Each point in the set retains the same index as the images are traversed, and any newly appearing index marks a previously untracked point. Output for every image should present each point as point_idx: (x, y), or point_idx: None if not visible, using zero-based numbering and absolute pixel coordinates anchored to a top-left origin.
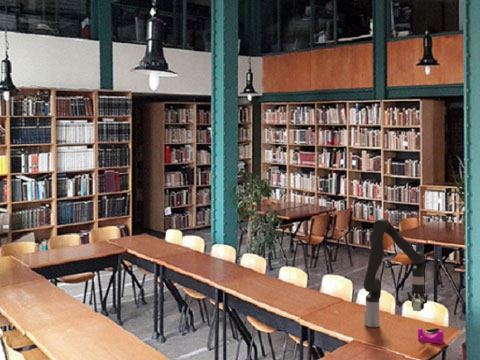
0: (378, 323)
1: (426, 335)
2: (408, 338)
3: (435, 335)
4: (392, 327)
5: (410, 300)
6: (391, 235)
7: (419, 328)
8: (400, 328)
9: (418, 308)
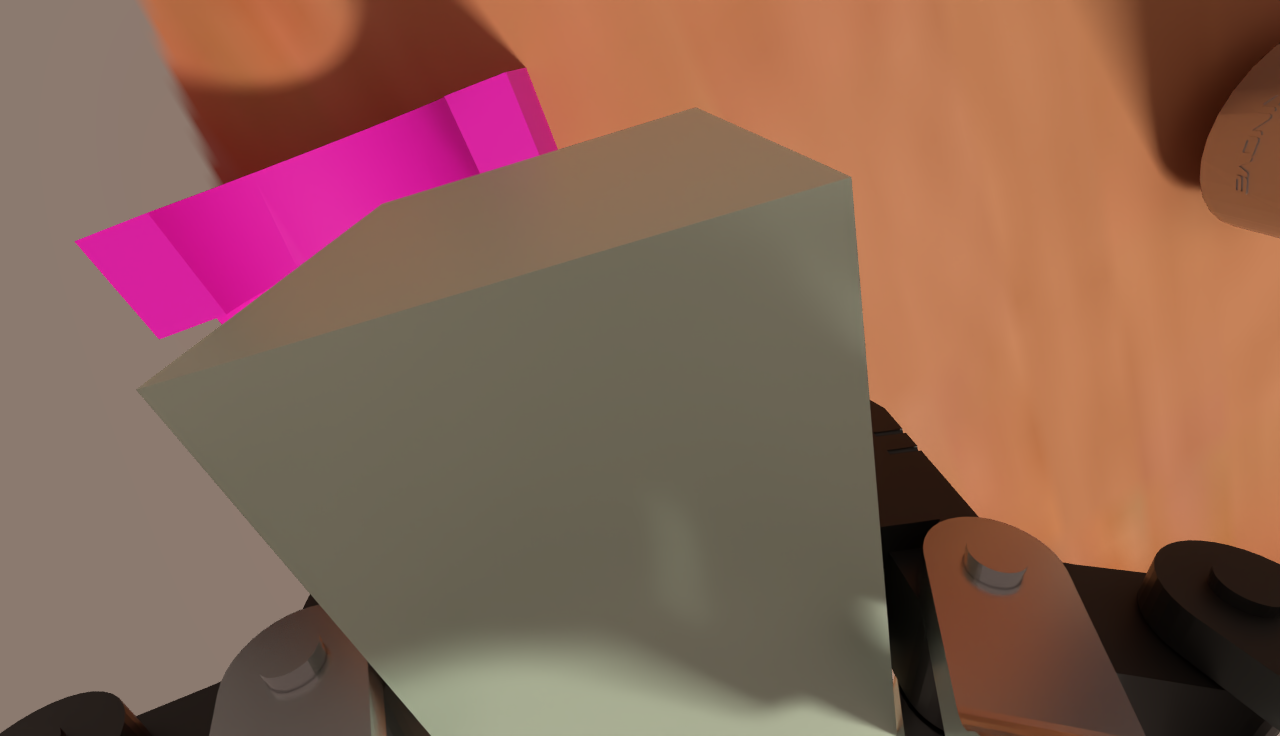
0: (1261, 136)
1: (423, 173)
2: (674, 43)
3: (300, 237)
4: (1006, 331)
5: (1179, 590)
6: None
7: (510, 137)
8: (912, 362)
9: (413, 218)
